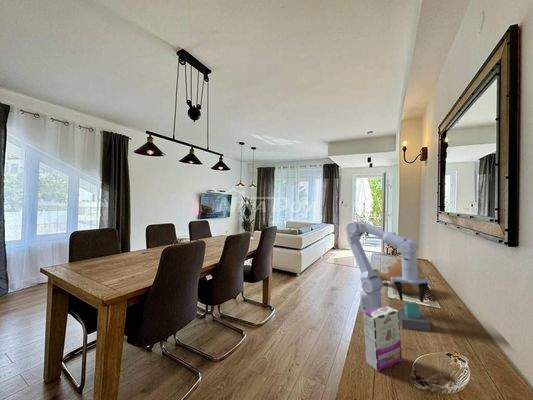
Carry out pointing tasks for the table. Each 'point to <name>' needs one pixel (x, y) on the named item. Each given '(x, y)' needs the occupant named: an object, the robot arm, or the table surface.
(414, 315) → the teal block
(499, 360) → the table surface
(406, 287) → the jug
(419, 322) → the block
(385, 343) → the candy bar box
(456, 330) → the table surface
